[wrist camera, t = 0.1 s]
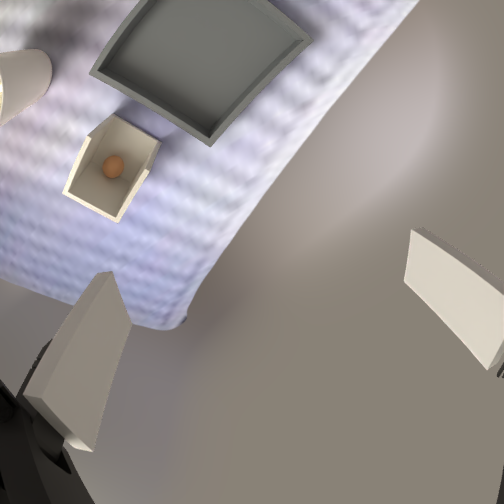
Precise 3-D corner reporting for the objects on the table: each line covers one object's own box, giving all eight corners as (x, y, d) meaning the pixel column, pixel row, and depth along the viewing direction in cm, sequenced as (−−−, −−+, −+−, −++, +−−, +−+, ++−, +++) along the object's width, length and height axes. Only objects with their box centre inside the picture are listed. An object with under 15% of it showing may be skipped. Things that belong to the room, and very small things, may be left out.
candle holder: (59, 101, 25) (9, 132, 17) (9, 116, 24) (-41, 151, 15) (57, 34, 19) (2, 42, 10) (4, 56, 17) (-52, 75, 8)
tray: (191, -39, 16) (189, -49, 14) (303, 40, 26) (313, 40, 23) (100, 70, 24) (88, 73, 21) (210, 137, 33) (210, 147, 31)
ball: (112, 148, 31) (105, 157, 29) (130, 158, 33) (124, 168, 31) (103, 165, 33) (96, 175, 31) (120, 175, 34) (114, 185, 32)
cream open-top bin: (112, 113, 29) (87, 135, 22) (161, 142, 33) (149, 171, 26) (87, 160, 32) (62, 193, 26) (133, 186, 36) (118, 223, 30)
